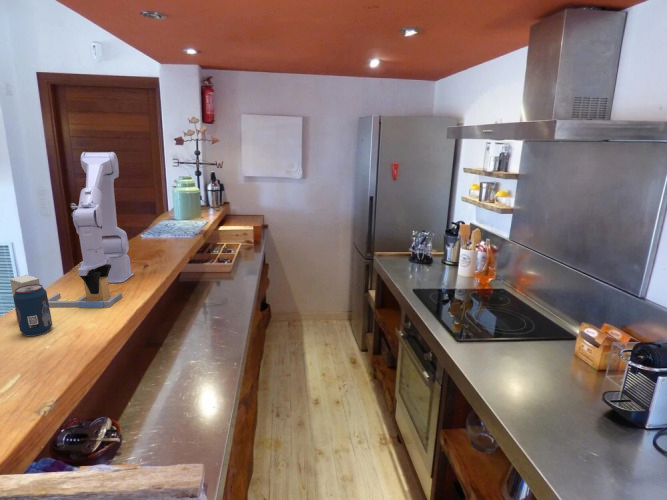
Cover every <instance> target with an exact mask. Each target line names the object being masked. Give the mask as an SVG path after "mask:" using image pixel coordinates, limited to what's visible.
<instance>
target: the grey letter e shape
mask: <svg viewBox="0 0 667 500" xmlns="http://www.w3.org/2000/svg"><path fill="white" fill-rule="evenodd" d="M61 298H62V296H61V293H60V292H59V293H58V292H57V293H55V294H53V295H52V296H50V297H48V303H49V308H79V309H104V308H111V307H112V306H113V305H114V304H116V303H117V302H118V301H120V300H121V299H122V298H123V294H122V292H118V293H116V294H115V295H114V296H110V299H109V300H107V301H87V299H86V294H84V295H83V296H81V297H80V298H78V299H76V300H60V299H61Z"/></svg>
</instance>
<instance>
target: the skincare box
mask: <svg viewBox="0 0 667 500" xmlns="http://www.w3.org/2000/svg"><path fill="white" fill-rule="evenodd" d="M9 281H10V287H11V292H12V297H13V296H14V294H15V289H16V288H19V287H21V286H25V285H31V284H40V279H39V277H36V276H33V275H29V274H24V275H19V276H15V277H11V278H9ZM40 285H41V284H40ZM14 306H15V304H14ZM14 309H15V308H14ZM15 312H16V309H15ZM15 314H16V313H15ZM15 317H17V314H16V315H15ZM16 320H17V321H18V319H17V318H16Z"/></svg>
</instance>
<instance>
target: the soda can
mask: <svg viewBox="0 0 667 500" xmlns="http://www.w3.org/2000/svg"><path fill="white" fill-rule="evenodd" d="M12 298H13V299H12V300H13V303H14V304H15V305H14V309H16V311H15V314H17V316H16V320H17V319H18V320H17V322H18V327H19V331H20V333H22V334H23V335H24V336H26V337H35V336H40V335H44V334H46V333H48V332H49V331H50V330H51V328H52V326H53V319H52V316H51V315H52V314H51V310H50V308H51V307H49V303H48V298H49V297H48V292H47V290H46V289H45V288H44V286H43V285H42V284H31V285H25V286H21V287H19V288H16V289H15V294H14V296H13V295H12Z"/></svg>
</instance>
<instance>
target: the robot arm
mask: <svg viewBox="0 0 667 500" xmlns="http://www.w3.org/2000/svg"><path fill="white" fill-rule="evenodd" d="M80 165H81V168H82V170H83V171H84V173H85V174H86V175H85V176H86V177H85V179H86V181H85V187H84V188H82V189H81V191H80V195H79V200H78V201H79V202H78V207H77V208H76V209H74V210H73V212H72V222H73V225H74V227H75V230H76V234H77V235H78V236H79V243H80V250H81V256H82V261H81V262H79V265H80V267H79V268H78V269H77V274H78V276H79V278H80V279H82V280H83V283H84V282H85V283H86V285H87V287H88V289H89V291H90V293H91V294H98V293H99V278H100V277H107V278H108V284H112V283H114V284H116V283H117V284H118V283H120V284H121V283H124V282H126V281H127V280H129V278H131V277H132V276H134V275H135V273H134V272H132V269H131V258H130V256H129V255H128V252H129V250H130V245H129V244H130V243H129V239H128V235H127V232H126V231H125V230H124V229H123V228H120V227H118V221H117V209H116V208H117V207H116V199H115V196H116V195H115V187H114V186H115V185H114V184H115V183H114V182H115V179H118V178H119V176H120V175H119V174H120V170H119V169H120V168H119V161H118V157H117V154H116V153H115V152H114V151H110V152H108V151H107V152H106V151H105V152H104V151H103V152H92V151H91V152H89V151H88V152H86V151H83V152H82V153H81V155H80Z"/></svg>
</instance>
